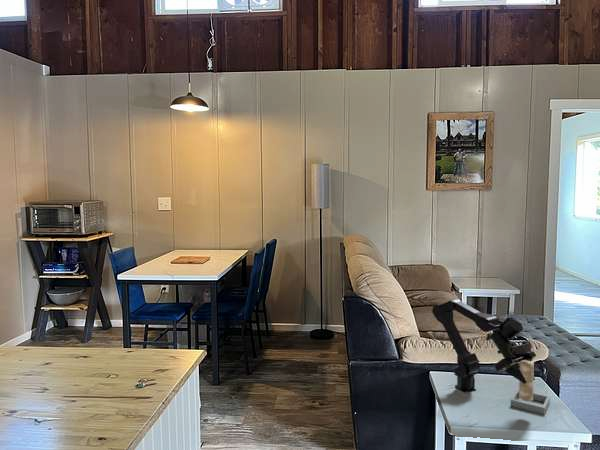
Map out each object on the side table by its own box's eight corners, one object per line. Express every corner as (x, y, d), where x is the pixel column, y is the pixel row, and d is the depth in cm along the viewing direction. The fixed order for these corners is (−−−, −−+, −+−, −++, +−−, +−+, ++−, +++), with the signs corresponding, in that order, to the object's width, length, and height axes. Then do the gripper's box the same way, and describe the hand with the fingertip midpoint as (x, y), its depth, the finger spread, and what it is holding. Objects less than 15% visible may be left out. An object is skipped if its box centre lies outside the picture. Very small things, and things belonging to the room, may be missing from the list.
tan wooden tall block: (521, 401, 170) (522, 364, 169) (517, 395, 174) (517, 360, 173) (535, 401, 169) (535, 365, 168) (530, 396, 174) (531, 360, 173)
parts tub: (510, 405, 180) (510, 399, 179) (517, 394, 189) (517, 389, 189) (544, 414, 172) (544, 407, 172) (549, 402, 182) (549, 396, 182)
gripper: (501, 338, 169) (529, 377, 160) (532, 330, 178) (559, 366, 169) (483, 353, 176) (508, 390, 167) (513, 344, 185) (539, 379, 176)
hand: (529, 381), depth 170 cm, fingers closed on tan wooden tall block, 5 cm apart
